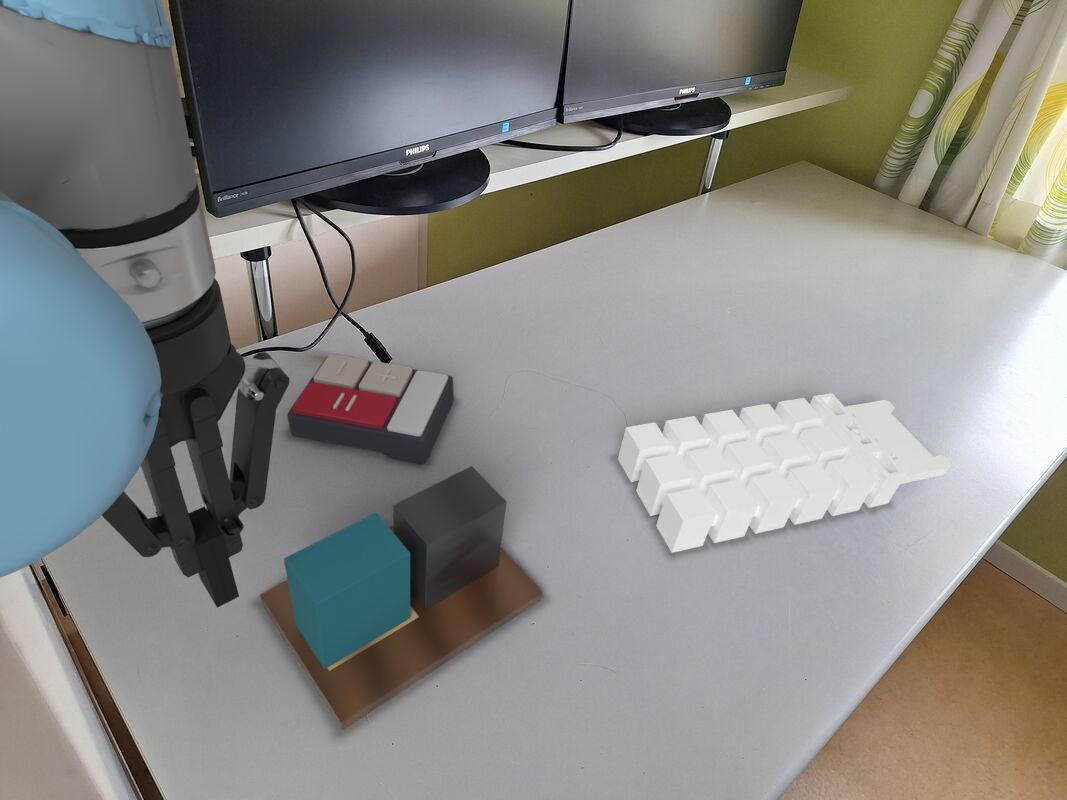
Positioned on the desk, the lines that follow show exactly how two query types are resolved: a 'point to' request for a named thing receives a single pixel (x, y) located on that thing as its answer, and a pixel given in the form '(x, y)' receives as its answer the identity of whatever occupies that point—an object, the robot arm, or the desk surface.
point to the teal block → (349, 588)
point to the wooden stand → (424, 597)
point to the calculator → (373, 407)
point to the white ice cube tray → (770, 466)
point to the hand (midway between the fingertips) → (219, 587)
